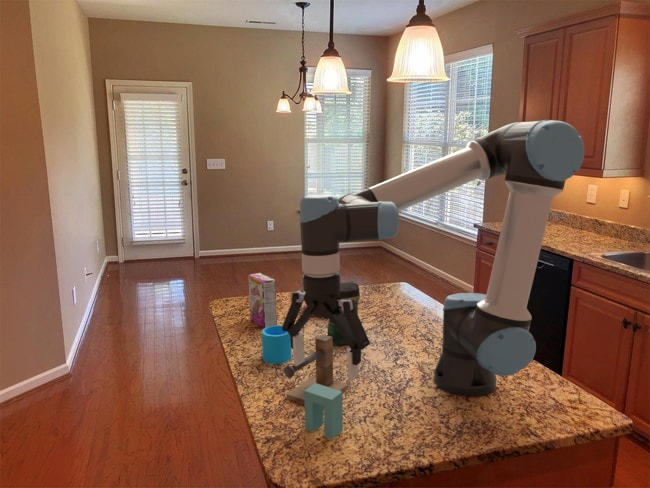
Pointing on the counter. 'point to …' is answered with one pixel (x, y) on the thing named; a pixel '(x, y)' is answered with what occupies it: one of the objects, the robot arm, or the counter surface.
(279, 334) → the mug
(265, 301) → the candy bar box
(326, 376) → the stand
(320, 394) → the c link
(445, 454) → the counter surface
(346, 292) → the coffee jar
